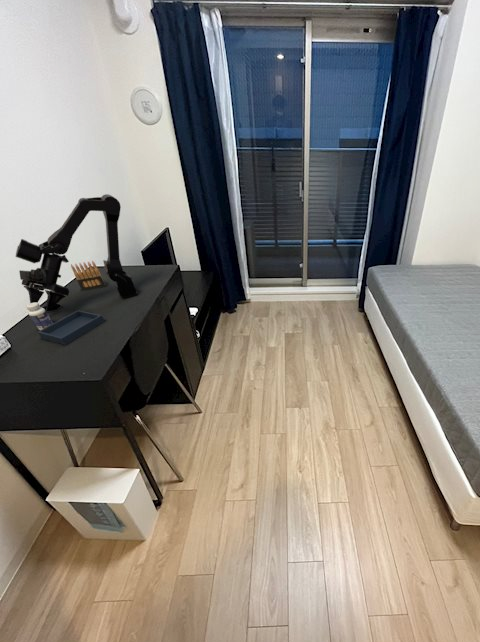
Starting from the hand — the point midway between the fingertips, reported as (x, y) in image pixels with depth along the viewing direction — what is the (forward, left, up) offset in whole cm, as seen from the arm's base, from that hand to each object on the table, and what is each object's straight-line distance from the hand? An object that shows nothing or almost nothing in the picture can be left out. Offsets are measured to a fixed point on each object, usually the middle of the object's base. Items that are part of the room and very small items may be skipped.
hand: (40, 308), depth 125 cm
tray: (-7, +10, -7) cm, 15 cm away
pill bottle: (+1, +1, -7) cm, 8 cm away
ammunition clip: (-20, -28, -7) cm, 35 cm away
